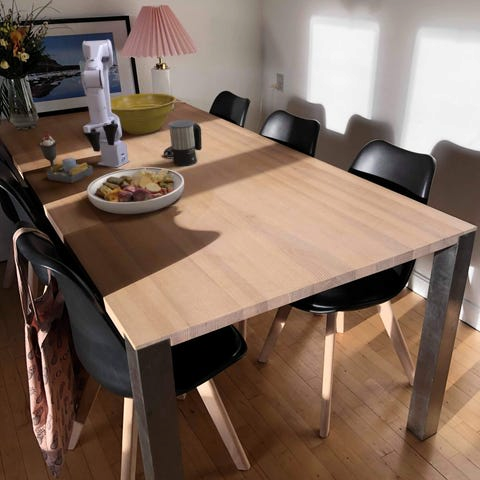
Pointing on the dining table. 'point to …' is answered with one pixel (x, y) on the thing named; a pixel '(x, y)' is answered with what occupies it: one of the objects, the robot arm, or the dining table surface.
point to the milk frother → (184, 142)
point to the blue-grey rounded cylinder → (68, 164)
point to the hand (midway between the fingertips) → (104, 148)
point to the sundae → (48, 149)
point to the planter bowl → (142, 111)
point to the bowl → (136, 190)
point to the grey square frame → (74, 173)
